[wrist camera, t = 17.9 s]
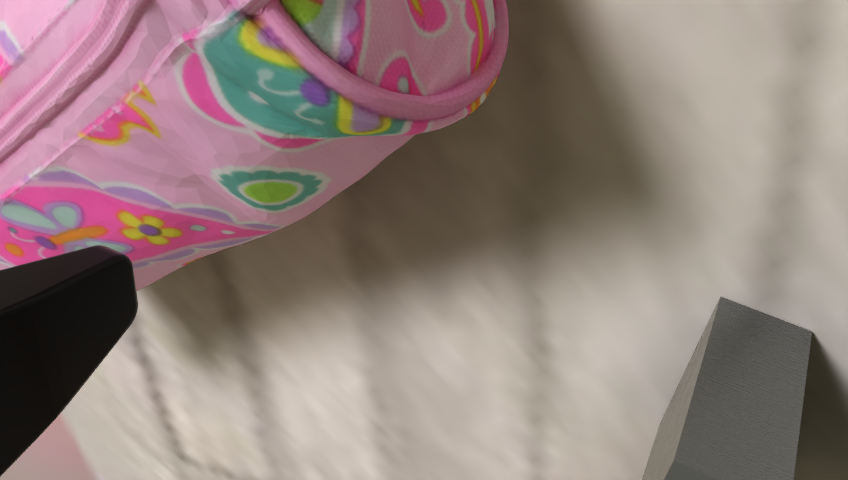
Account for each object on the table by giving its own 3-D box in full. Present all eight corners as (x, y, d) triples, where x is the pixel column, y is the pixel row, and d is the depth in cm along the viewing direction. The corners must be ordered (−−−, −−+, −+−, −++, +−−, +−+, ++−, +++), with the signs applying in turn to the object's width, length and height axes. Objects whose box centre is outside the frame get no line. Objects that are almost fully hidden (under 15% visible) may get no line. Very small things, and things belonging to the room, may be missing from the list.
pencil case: (128, 278, 32) (-79, 434, 25) (-25, 78, 29) (-298, 190, 23) (593, 37, 18) (421, 232, 12) (378, -359, 16) (12, -402, 9)
